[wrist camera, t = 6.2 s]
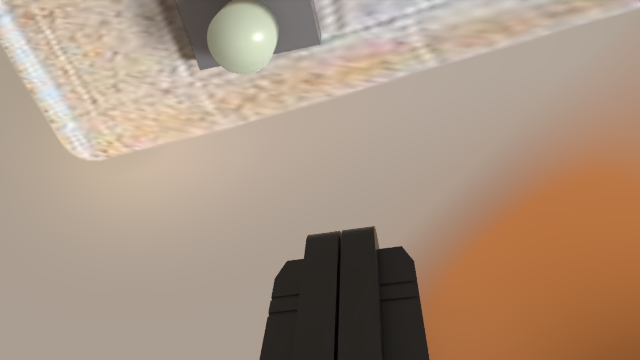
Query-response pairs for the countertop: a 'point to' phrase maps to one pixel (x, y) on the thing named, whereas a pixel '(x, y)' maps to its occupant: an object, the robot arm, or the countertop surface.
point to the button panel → (286, 3)
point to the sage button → (243, 36)
